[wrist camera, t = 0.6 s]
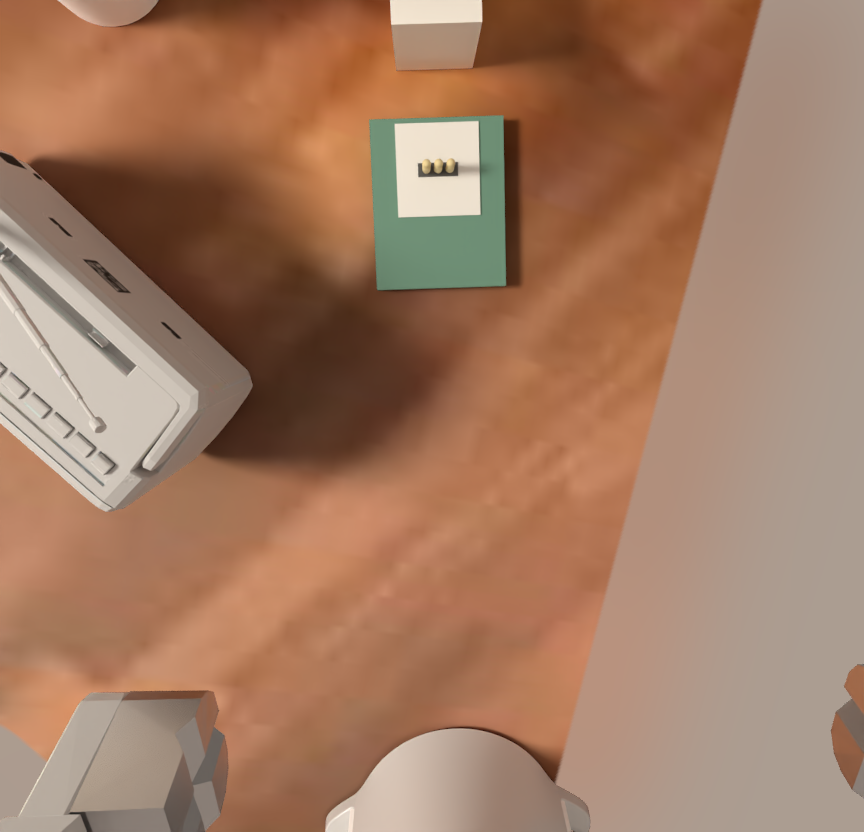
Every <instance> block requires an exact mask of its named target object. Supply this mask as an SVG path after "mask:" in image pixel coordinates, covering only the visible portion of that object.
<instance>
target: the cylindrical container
mask: <svg viewBox="0 0 864 832" xmlns="http://www.w3.org/2000/svg"><path fill="white" fill-rule="evenodd" d="M58 1H60V2H61V3H62V4H63V5H64V6H66V7H67V8H68V9H69V10H70V11H72V12H73V13H74V14H76V15H77V16H78V17H80V18H82V19H84V20H86V21H88V22H90V23H93V24H96V25H100V26H109V27H117V26H123V25H128V24H130V23H133V22H135V21H137V20H139V19H141V18H142V17H144V16H145V15H146V14H148V13H149V12H150V11H151V10H152V8H153V7H154V6H155V5H156V4H157V2H158V0H58Z"/></svg>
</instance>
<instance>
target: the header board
mask: <svg viewBox="0 0 864 832" xmlns="http://www.w3.org/2000/svg"><path fill="white" fill-rule="evenodd" d="M369 124H370V146H371V168H372V190H373V212H374V234H375V256H376V278H377V290H404V289H434V288H463V287H493V286H506V254H505V191H504V128H503V115H502V116H470V117H438V118H407V119H375V120H369Z"/></svg>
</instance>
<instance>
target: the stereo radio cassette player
mask: <svg viewBox="0 0 864 832" xmlns="http://www.w3.org/2000/svg"><path fill="white" fill-rule="evenodd" d="M252 387H253V384H252V381H251V378H250V374H249V372H248V370H247V369H246V368H245V367H243V366H242V365H241V364H240V363H239V362H238V361H237V360H236V359H235V358H234V357H233V356H232V355H231V354H230V353H229V352H228V351H226V350H225V349H224V348H223V347H222V346H221V345H220V344H219V343H218V342H217V341H216V340H215V339H214V338H213V337H212V336H210V335H209V334H208V333H207V332H206V331H205V330H204V329H203V328H202V327H201V326H200V325H199V324H198V323H197V322H196V321H194V320H193V319H192V318H191V317H190V316H189V315H188V314H187V313H186V312H185V311H184V310H183V309H182V308H181V307H180V306H178V305H177V304H176V303H175V302H174V301H173V300H172V299H171V298H170V297H169V296H168V295H167V294H166V293H165V292H164V291H162V290H161V289H160V288H159V287H158V286H157V285H156V284H155V283H154V282H153V281H152V280H151V279H150V278H149V277H148V276H146V275H145V274H144V273H143V272H142V271H141V270H140V269H139V268H138V267H137V266H136V265H135V264H134V263H133V262H132V261H130V260H129V259H128V258H127V257H126V256H125V255H124V254H123V253H122V252H121V251H120V250H119V249H118V248H117V247H116V246H114V245H113V244H112V243H111V242H110V241H109V240H108V239H107V238H106V237H105V236H104V235H103V234H102V233H101V232H100V231H98V230H97V229H96V228H95V227H94V226H93V225H92V224H91V223H90V222H89V221H88V220H87V219H86V218H85V217H83V216H82V215H81V214H80V213H79V212H78V211H77V210H76V209H75V208H74V207H73V206H72V205H71V204H70V203H69V202H68V201H66V200H65V199H64V198H63V197H62V196H61V195H60V194H59V193H58V192H57V191H56V190H55V189H54V188H53V187H52V186H50V185H49V184H48V183H47V182H46V181H45V180H44V179H43V178H42V177H41V176H40V175H39V174H38V173H37V172H36V171H34V170H33V169H32V168H31V167H30V166H29V165H28V164H27V163H24V162H22V161H20V160H18V159H16V158H15V157H14V156H13V155H11V154H10V153H7V152H5V151H2V150H0V423H1V424H2V425H3V426H4V427H5V428H6V429H8V430H9V431H10V432H11V433H12V434H13V435H14V436H16V437H17V438H18V439H19V440H20V441H21V442H22V443H24V444H25V445H26V446H27V447H28V448H29V449H30V450H32V451H33V452H34V453H35V454H36V455H37V456H38V457H40V458H41V459H42V460H43V461H44V462H45V463H46V464H48V465H49V466H50V467H51V468H52V469H53V470H54V471H56V472H57V473H58V474H59V475H60V476H61V477H63V478H64V479H65V480H66V481H67V482H68V483H69V484H71V485H72V486H73V487H74V488H75V489H76V490H77V491H79V492H80V493H81V494H82V495H83V496H84V497H86V498H87V499H88V500H89V501H90V502H92V503H93V504H94V505H95V506H96V507H98V508H100V509H102V510H104V511H106V512H111V511H114V510H118V509H123V508H125V507H126V506H128V505H130V504H131V503H132V502H134V501H135V500H137V499H138V498H140V497H141V496H142V495H144V494H145V493H147V492H148V491H150V490H151V489H153V488H154V487H155V486H157V485H158V484H160V483H161V482H163V481H164V480H165V479H167V478H168V477H170V476H171V475H173V474H174V473H176V472H177V471H178V470H180V469H181V468H183V467H184V466H186V465H187V464H188V463H190V462H191V461H193V460H194V459H195V458H196V457H197V456H198V455H199V454H200V453H201V452H202V451H203V450H204V449H205V448H206V447H207V446H208V445H209V444H210V443H211V442H212V441H213V440H214V438H215V437H216V436H217V435H218V434H219V433H220V431H221V430H222V429H223V428H224V427H225V425H226V424H227V423H228V422H229V421H230V419H231V418H232V417H233V416H234V414H235V413H236V411H237V410H238V409H239V407H240V406H241V404H242V403H243V401H244V400H245V399H246V397H247V396H248V394H249V393H250V391H251V389H252Z"/></svg>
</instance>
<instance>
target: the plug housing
mask: <svg viewBox="0 0 864 832" xmlns="http://www.w3.org/2000/svg"><path fill="white" fill-rule="evenodd" d="M390 7H391V27H392V36H393V45H394V54H395V63H396V71H403V70H435V69H467V68H473V63H474V59H475V54H476V49H477V45H478V40H479V35H480V31H481V26H482V0H390Z"/></svg>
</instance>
